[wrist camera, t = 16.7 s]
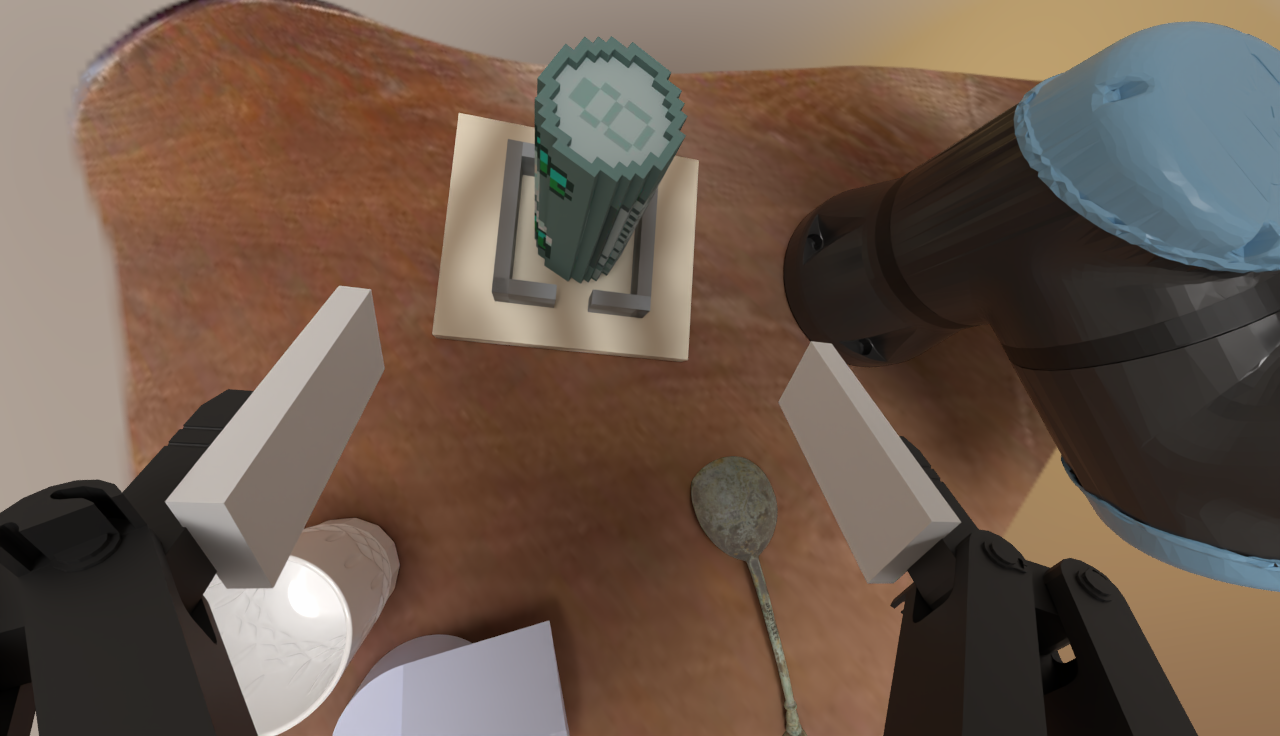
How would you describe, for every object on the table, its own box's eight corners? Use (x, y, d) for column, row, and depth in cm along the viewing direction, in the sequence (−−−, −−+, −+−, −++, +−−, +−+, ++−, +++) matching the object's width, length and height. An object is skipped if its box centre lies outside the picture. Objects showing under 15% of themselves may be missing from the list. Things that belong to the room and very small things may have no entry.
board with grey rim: (692, 170, 38) (710, 142, 34) (681, 362, 36) (699, 355, 32) (462, 125, 34) (452, 88, 30) (436, 338, 32) (423, 327, 28)
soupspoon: (751, 443, 38) (676, 465, 37) (769, 445, 35) (687, 469, 33) (825, 717, 36) (750, 749, 35) (852, 746, 33) (770, 783, 31)
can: (567, 184, 34) (592, 10, 19) (635, 233, 35) (709, 101, 20) (519, 248, 32) (508, 114, 18) (591, 298, 33) (636, 207, 19)
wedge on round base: (547, 599, 32) (341, 659, 29) (551, 646, 26) (285, 730, 22) (571, 731, 32) (363, 806, 28) (580, 813, 25) (313, 923, 22)
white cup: (259, 531, 29) (118, 591, 19) (393, 491, 31) (328, 527, 21) (289, 656, 28) (161, 781, 19) (423, 607, 30) (370, 699, 21)
